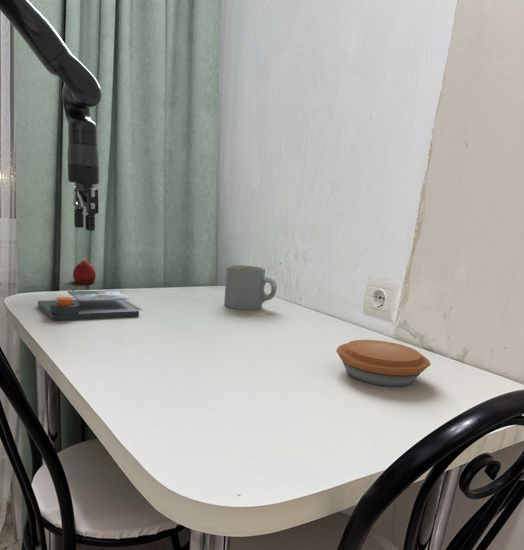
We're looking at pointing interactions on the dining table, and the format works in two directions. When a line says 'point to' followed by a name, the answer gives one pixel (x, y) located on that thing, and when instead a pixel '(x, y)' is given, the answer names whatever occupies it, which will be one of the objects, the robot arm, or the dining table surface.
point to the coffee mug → (247, 287)
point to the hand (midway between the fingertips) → (84, 229)
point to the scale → (87, 310)
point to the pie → (382, 362)
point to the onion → (84, 273)
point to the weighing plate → (97, 295)
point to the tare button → (64, 301)
